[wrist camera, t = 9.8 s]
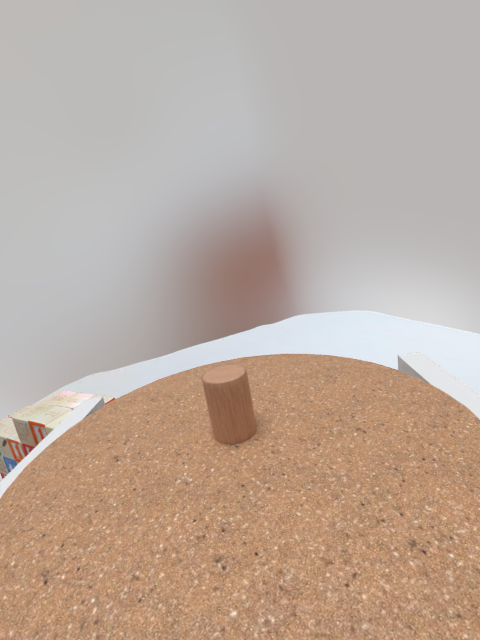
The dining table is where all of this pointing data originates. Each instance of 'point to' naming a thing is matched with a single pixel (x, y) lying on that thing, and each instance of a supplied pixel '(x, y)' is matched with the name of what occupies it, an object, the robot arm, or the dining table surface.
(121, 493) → the lidded jar
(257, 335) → the dining table surface
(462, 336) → the dining table surface
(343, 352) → the dining table surface
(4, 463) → the stack of blocks
